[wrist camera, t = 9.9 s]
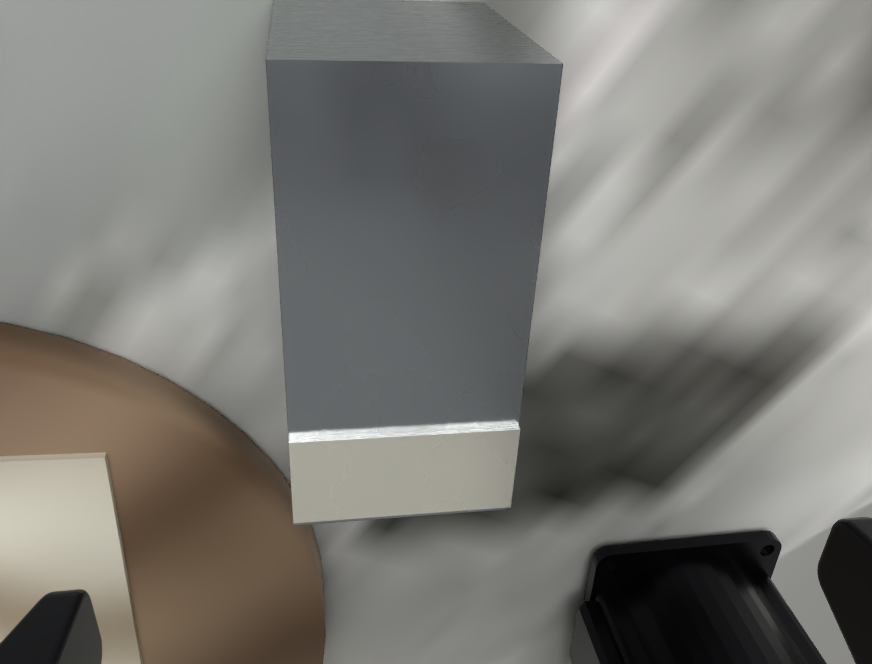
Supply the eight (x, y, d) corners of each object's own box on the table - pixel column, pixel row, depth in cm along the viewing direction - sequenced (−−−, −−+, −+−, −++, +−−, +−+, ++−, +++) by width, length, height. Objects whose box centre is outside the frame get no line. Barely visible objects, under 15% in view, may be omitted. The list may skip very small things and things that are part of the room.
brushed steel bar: (274, -4, 16) (265, 62, 11) (482, 1, 17) (565, 66, 12) (293, 363, 21) (293, 530, 16) (457, 355, 22) (509, 514, 16)
